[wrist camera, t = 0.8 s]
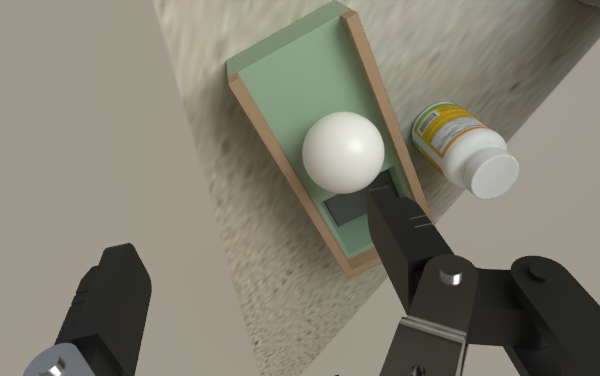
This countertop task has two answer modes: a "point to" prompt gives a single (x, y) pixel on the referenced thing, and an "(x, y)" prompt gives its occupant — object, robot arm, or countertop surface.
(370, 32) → the countertop surface
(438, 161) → the supplement bottle
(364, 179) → the ball
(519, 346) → the robot arm
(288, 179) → the runway
